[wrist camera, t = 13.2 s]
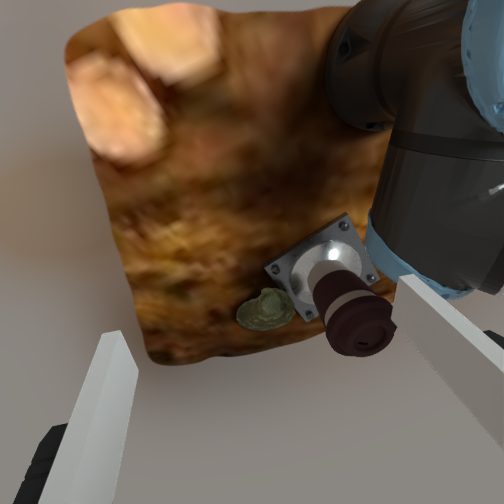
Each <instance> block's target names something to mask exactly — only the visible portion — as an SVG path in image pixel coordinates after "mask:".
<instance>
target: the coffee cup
mask: <svg viewBox="0 0 504 504" xmlns="http://www.w3.org/2000/svg"><path fill="white" fill-rule="evenodd" d="M307 283H308V287H309V289H310V291H311V294H312V297H313V301H314V304H315V306H316V308H317V311H318V313H319V315H320V317H321V320H322V322H323V324H324V326H325V328H326V337H327V339H328V341H329V343H330V345H331V347H332V348H333V350H334V351H336V352H337V353H339V354H341V355H345V356H356V357H366V356H371V355H374V354H376V353H378V352H380V351H381V350H383V349H384V348H385V347H386V346H387V345H388V344H389V343H390V342H391V340H392V338H393V336H394V332H395V330H396V328H397V326H396V325H395V323H394V322H393V321H392V320H391V315H392V310H393V306H392V305H391V304H390V303H389V302H388V301H387V300H386V299H384V298H382V297H379V296H378V295H377V294H376V293H375V292H374V291H373V290H372V289H371V288H370V287H369V286H368V285H367V284H366V283H365V282H364V281H363V280H362V279H361V278H360V277H359V276H357V275H356V274H355V273H354V272H352V271H350V270H349V269H348V268H347V267H346V266H345V265H344V264H343V263H342V262H340V261H337V260H325V261H322V262H320V263H318V264H317V265H315V266H314V267H313V268H312V270H311V271H310V273H309V275H308V279H307Z"/></svg>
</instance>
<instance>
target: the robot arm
mask: <svg viewBox="0 0 504 504" xmlns="http://www.w3.org/2000/svg"><path fill="white" fill-rule="evenodd" d="M325 86H326V91H327V95H328V99H329V101H330V104H331V106H332V107H333V109H334V111H335V112H336V114H337V115H338V116H339V117H340V118H341V119H342V120H343V121H344V122H346V123H347V124H349V125H351V126H353V127H356V128H359V129H363V130H368V131H383V130H388V129H392V128H393V129H392V133H391V137H390V141H389V143H388V147H387V151H386V155H385V159H384V163H383V166H382V170H381V174H380V178H379V182H378V186H377V190H376V193H375V197H374V201H373V205H372V208H371V209H370V210H369V213H368V226H367V231H366V236H365V249H366V252H367V254H368V256H369V257H370V258H371V260H372V263H373V264H374V265H375V266H376V267H377V268H378V269H379V270H380V271H381V272H382V273H383V274H384V275H386V276H387V277H388V278H390V279H391V280H393V281H394V282H396V283H398V284H397V289H396V294H395V299H394V305H393V310H392V315H391V320H392V321H393V322H394V323H395V325H396V326H397V327H398V328H399V329H400V330H401V332H402V333H403V334H404V335H405V336H406V337H407V339H409V341H410V342H411V343H412V344H413V345H414V347H415V348H416V349H417V350H418V351H419V353H420V354H421V355H422V356H423V357H424V358H425V360H426V361H427V362H428V363H429V364H430V365H431V367H433V369H434V370H435V371H436V372H437V373H438V375H439V376H440V377H441V378H442V379H443V381H444V382H445V383H446V384H447V385H448V386H449V388H450V389H451V390H452V391H453V392H454V394H455V395H456V396H457V397H458V398H459V399H460V401H461V402H462V403H463V404H464V405H465V406H466V408H467V409H468V410H469V411H470V412H471V413H472V415H473V416H474V417H475V418H476V419H477V420H478V422H479V423H480V424H481V425H482V426H483V428H484V429H485V430H486V431H487V432H488V433H489V435H490V436H491V437H492V438H493V439H494V440H495V442H496V443H497V444H498V445H499V446H500V447H501V449H502V450H503V451H504V337H502V336H500V335H498V334H496V333H494V332H492V331H490V330H487V331H483V332H482V331H481V330H479V329H478V328H477V327H476V326H475V325H474V324H473V323H471V322H470V321H469V320H468V319H467V318H465V317H464V316H463V315H462V314H461V313H459V312H458V311H457V310H456V309H455V308H453V307H452V306H451V305H450V304H449V303H448V302H446V301H445V300H444V299H448V300H454V299H460V298H463V297H464V296H466V295H468V294H469V293H471V292H473V290H474V289H478V290H480V291H483V292H486V293H489V294H492V295H494V296H499V297H500V296H503V295H504V0H361V1H359V2H358V3H357V4H356V5H355V6H354V7H353V8H352V9H351V10H350V11H349V12H348V13H347V14H346V15H345V17H344V18H343V19H342V21H341V22H340V24H339V26H338V27H337V29H336V31H335V33H334V35H333V37H332V40H331V42H330V45H329V49H328V52H327V57H326V62H325ZM440 296H441V297H440ZM442 297H443V298H444V299H443V298H442ZM138 373H139V370H138V368H137V366H136V364H135V361H134V359H133V357H132V355H131V353H130V350H129V348H128V346H127V344H126V341H125V339H124V337H123V335H122V333H121V331H120V330H118V331H113V332H108V333H103V334H102V336H101V338H100V341H99V344H98V346H97V349H96V352H95V354H94V357H93V360H92V362H91V365H90V368H89V370H88V373H87V375H86V378H85V381H84V383H83V386H82V389H81V391H80V394H79V397H78V399H77V402H76V405H75V407H74V410H73V413H72V415H71V418H70V420H69V423H66V424H62V425H57V426H52V428H51V429H50V430H49V432H48V433H47V434H46V436H45V437H44V438H43V440H42V441H41V442H40V443H39V445H38V448H37V450H36V452H35V454H34V457H33V459H32V461H31V463H32V464H31V465H30V466H29V468H28V470H27V473H26V475H25V480H24V481H23V482H22V484H21V487H20V489H19V491H18V493H17V495H16V498H15V500H14V503H13V504H113V499H114V494H115V489H116V484H117V479H118V474H119V469H120V464H121V459H122V453H123V449H124V444H125V439H126V434H127V429H128V424H129V419H130V414H131V408H132V403H133V398H134V393H135V388H136V383H137V378H138Z"/></svg>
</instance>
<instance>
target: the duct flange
mask: <svg viewBox="0 0 504 504" xmlns="http://www.w3.org/2000/svg"><path fill="white" fill-rule="evenodd" d="M325 260H337V261H340V262H342V263H343V264H344V265H345V266H346V267H347V268H348V269H349V270H350V271H352V272H354V273H355V274H356V275H357V276H359V277H360V278H361V279H362V280H363V281H364V282H365V283H366V284H367V285H368V286H370V285H371V284H373V283H375V282H376V281H378V280H380V278H379V276H378V274H377V272H376V270H375V268H374V266H373V264H372V262H371V260H370V258H369V256H368V254H367V252H366V250H365V248H364V246H363V244H362V241H361V239H360V237H359V235H358V233H357V231H356V229H355V227H354V225H353V223H352V221H351V219H350V217H349V215H348V214H347V213H346V212H345V213H343V214H342V215H340V216H339V217H337V218H336V219H334V220H332V221H331V222H329V223H328V224H326V225H325V226H323V227H322V228H320V229H318V230H317V231H315V232H314V233H312V234H311V235H309V236H307V237H306V238H304V239H303V240H301V241H300V242H298V243H297V244H295V245H293V246H292V247H290V248H289V249H287V250H286V251H284V252H283V253H281V254H279V255H278V256H276V257H275V258H273V259H272V260H270V261H268V262H267V263H265V264H264V265H263V266H264V269H265V270H266V271H267V272H268V274H269V275H270V276H271V278H272V279H273V280H274V281H275V283H276V284H277V285H278V287H279V288H280V289H281V290H283V291H285V292H286V293H287V294H288V295H289V297H290V298H291V299H292V300H293V302H294V305H295V306H294V307H295V308H296V310H297V311H298V312H299V314H300V315H301V316H302V318H303V319H304V320H305V321H306V323H307V322H309V321H310V320H312V319H314V318H315V317H317V316H319V313H318V311H317V308H316V306H315V304H314V301H313V297H312V294H311V291H310V289H309V287H308V283H307V279H308V275H309V273H310V271H311V270H312V268H313V267H314V266H315V265H317V264H318V263H320V262H322V261H325Z"/></svg>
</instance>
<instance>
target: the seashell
mask: <svg viewBox="0 0 504 504" xmlns="http://www.w3.org/2000/svg"><path fill="white" fill-rule="evenodd" d="M294 306H295V305H294V302H293V300H292V299H291V298H290V297H289V295H288V294H287V293H286V292H285V291H283V290H279V289H278V288H264V289H262V290H261V295H260V296H258V297H257V298H255V299H251V300H250V301H247V302H244V303H243V304H242V305H241V306H240V307H239V309H238V311H237V315H236V316H237V320H238V322H239V323H240V325H241V326H242V327H243V328H246V329H251V330H259V331H265V330H271V329H274V328H278V327H280V326H282V325H286V324H287V323H289V322H291V319H292V317H293V316H294V315H295V314H296V312H295V310H294Z"/></svg>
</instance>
